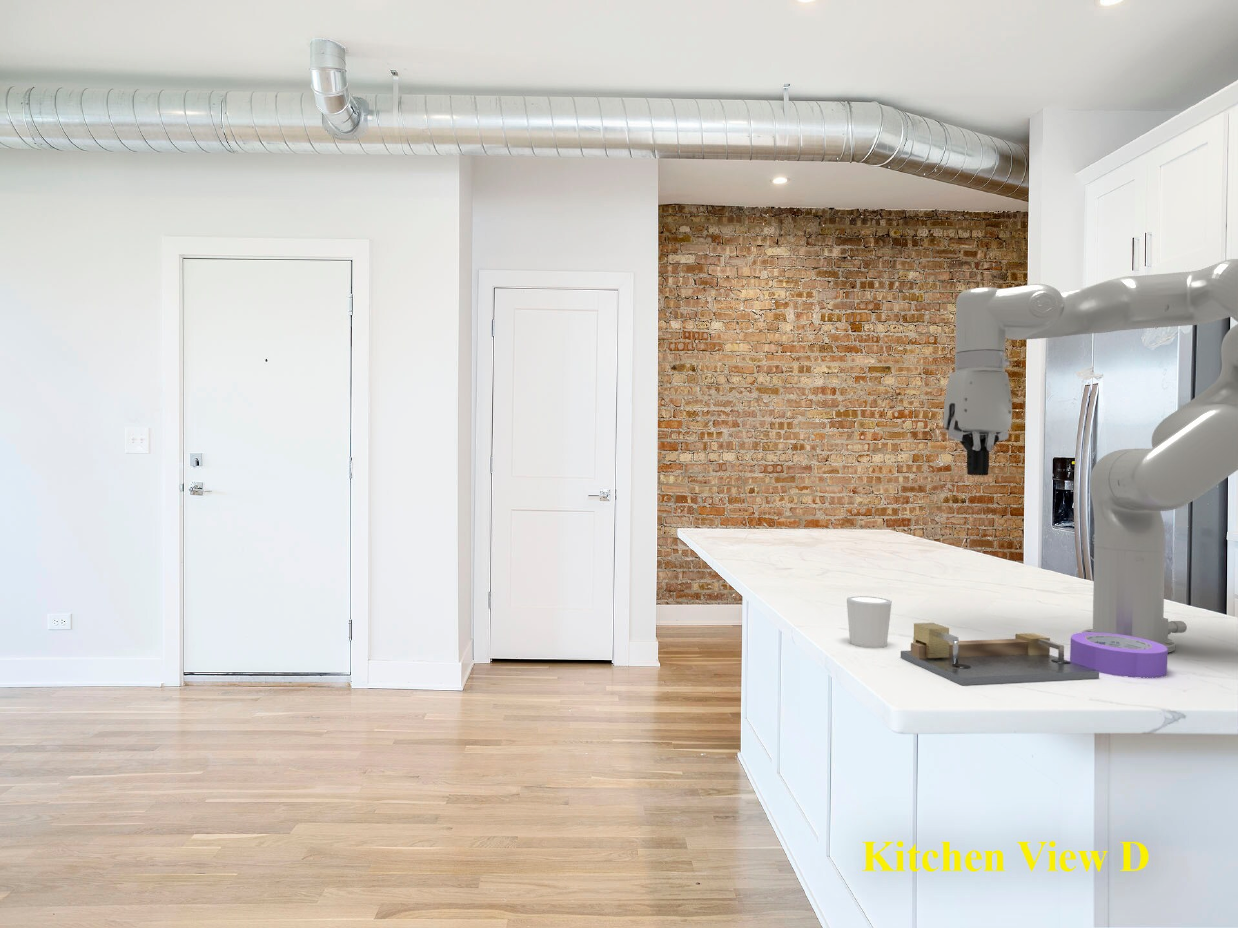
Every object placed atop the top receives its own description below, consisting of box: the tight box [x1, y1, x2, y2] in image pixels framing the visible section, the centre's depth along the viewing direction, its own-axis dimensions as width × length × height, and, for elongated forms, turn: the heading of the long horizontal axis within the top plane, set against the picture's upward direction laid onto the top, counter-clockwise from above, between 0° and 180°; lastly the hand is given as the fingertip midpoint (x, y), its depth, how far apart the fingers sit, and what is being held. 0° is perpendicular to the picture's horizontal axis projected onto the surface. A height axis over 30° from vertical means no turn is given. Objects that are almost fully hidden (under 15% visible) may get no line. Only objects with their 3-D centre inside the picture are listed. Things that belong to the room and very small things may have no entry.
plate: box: [900, 649, 1100, 686], centre depth 108 cm, size 21×14×1 cm, turn 102°
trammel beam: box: [910, 632, 1065, 661], centre depth 109 cm, size 21×7×2 cm, turn 102°
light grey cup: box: [846, 595, 892, 649], centre depth 121 cm, size 7×7×7 cm
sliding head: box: [912, 622, 960, 664], centre depth 107 cm, size 3×8×4 cm, turn 12°
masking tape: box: [1069, 632, 1169, 679], centre depth 109 cm, size 12×12×4 cm
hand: (977, 474), depth 126 cm, fingers closed
